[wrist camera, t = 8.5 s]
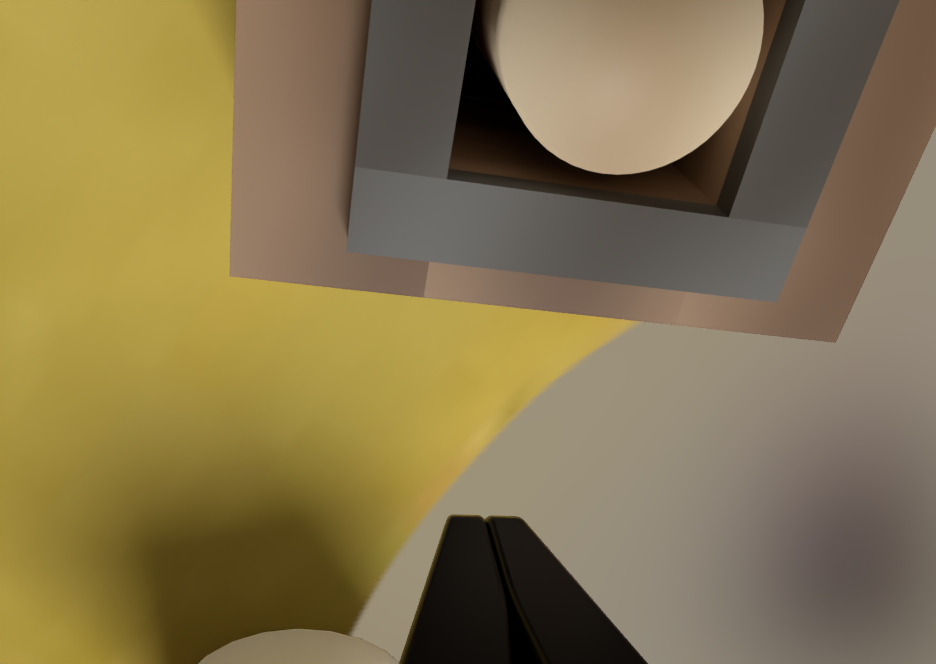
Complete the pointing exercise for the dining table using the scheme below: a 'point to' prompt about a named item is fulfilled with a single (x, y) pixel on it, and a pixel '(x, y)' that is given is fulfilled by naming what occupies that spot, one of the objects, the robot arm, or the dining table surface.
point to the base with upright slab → (299, 649)
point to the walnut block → (573, 171)
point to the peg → (621, 73)
